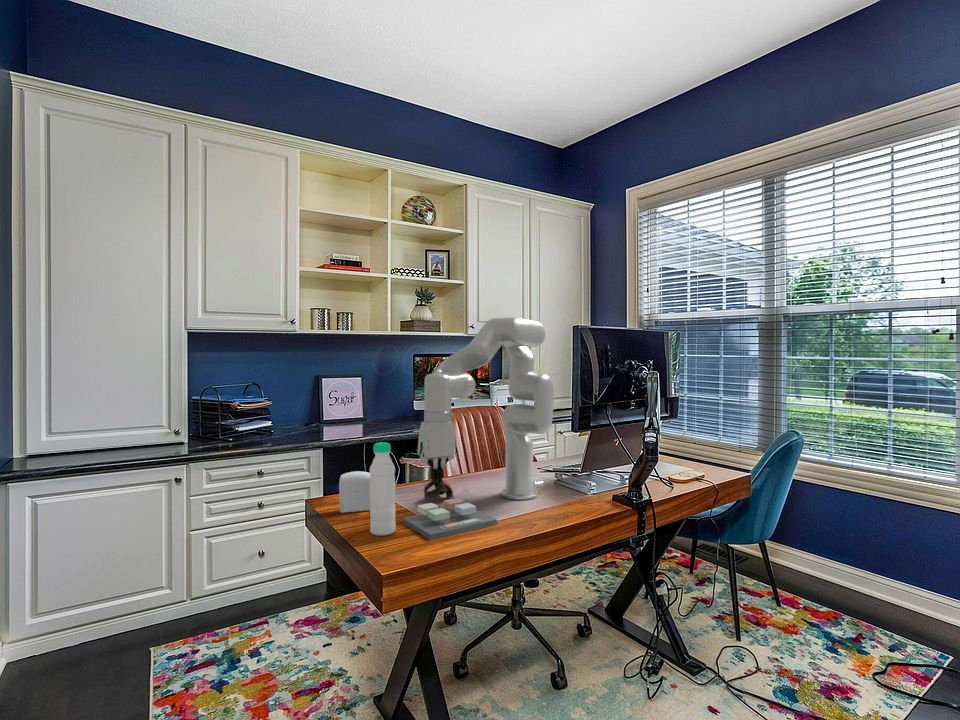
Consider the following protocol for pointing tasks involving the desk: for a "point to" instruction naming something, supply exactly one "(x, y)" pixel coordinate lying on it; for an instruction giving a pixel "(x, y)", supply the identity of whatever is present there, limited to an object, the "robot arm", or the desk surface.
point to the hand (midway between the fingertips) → (436, 481)
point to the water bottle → (382, 491)
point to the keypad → (448, 524)
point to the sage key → (438, 514)
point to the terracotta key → (452, 503)
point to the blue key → (464, 508)
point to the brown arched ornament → (438, 490)
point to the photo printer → (354, 492)
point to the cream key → (426, 508)
